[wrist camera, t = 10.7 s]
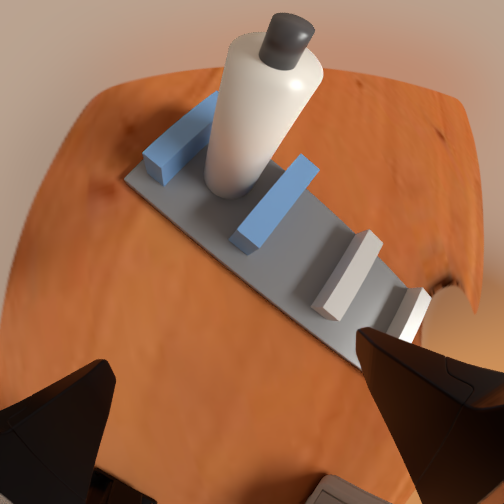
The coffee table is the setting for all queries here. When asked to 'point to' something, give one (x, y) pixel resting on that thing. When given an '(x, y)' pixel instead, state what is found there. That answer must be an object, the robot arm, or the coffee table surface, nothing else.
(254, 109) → the bottle
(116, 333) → the coffee table surface
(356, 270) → the slotted divider tray
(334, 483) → the digital clock
